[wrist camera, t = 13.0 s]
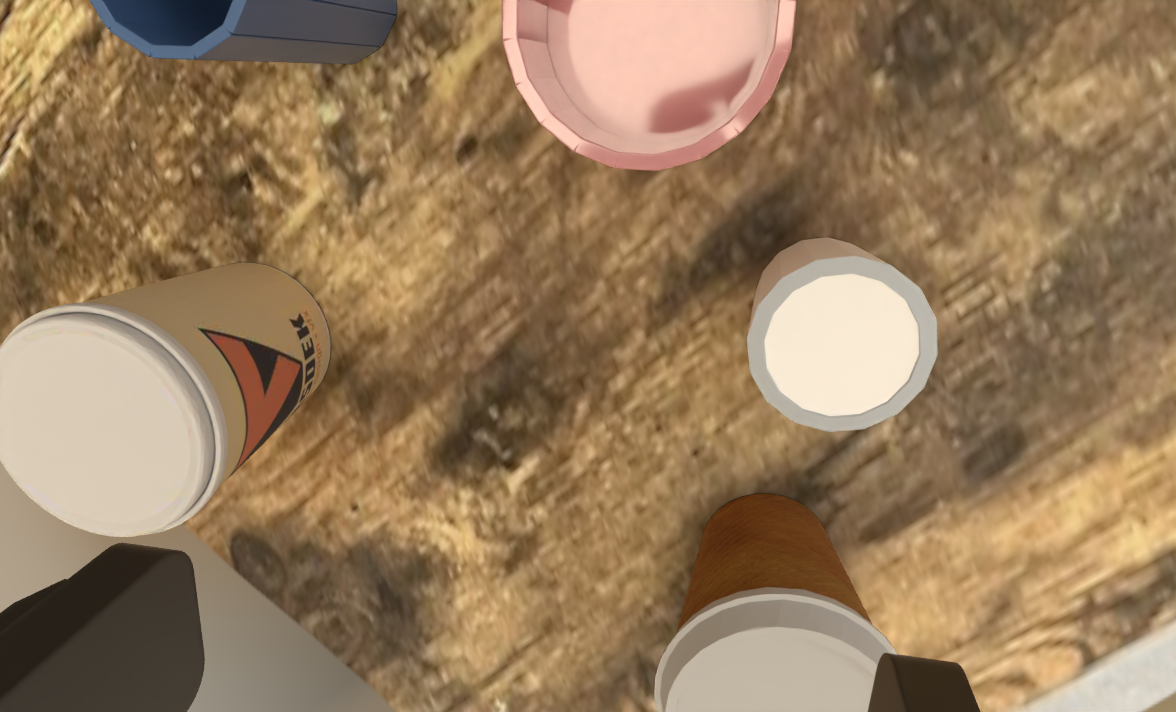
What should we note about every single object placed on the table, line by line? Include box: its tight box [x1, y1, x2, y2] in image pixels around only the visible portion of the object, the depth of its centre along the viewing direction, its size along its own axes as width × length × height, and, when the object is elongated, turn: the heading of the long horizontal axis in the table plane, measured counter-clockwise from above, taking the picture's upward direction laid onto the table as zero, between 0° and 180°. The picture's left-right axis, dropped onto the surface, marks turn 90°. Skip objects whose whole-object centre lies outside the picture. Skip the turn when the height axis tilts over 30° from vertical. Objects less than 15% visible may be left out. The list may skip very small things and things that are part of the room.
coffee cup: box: [0, 263, 331, 537], centre depth 36 cm, size 9×9×12 cm
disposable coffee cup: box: [654, 494, 897, 712], centre depth 36 cm, size 10×10×12 cm
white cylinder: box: [747, 237, 938, 432], centre depth 34 cm, size 7×7×7 cm
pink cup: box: [502, 0, 797, 171], centre depth 32 cm, size 10×10×6 cm
